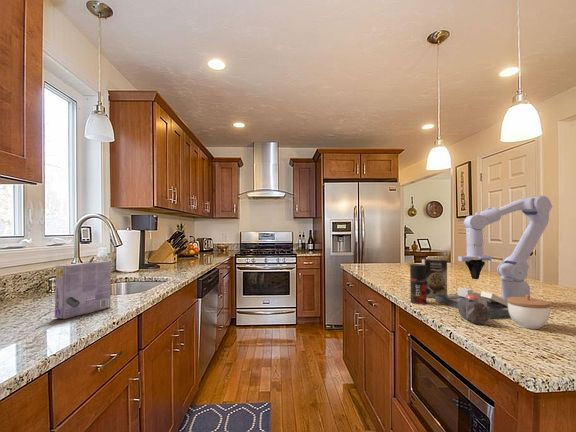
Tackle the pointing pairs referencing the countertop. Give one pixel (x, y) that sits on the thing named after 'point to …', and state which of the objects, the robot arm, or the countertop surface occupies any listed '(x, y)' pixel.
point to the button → (472, 297)
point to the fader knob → (464, 292)
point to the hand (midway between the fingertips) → (475, 279)
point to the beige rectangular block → (494, 298)
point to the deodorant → (418, 283)
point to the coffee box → (435, 277)
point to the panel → (493, 308)
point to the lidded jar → (528, 311)
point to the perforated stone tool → (473, 311)
